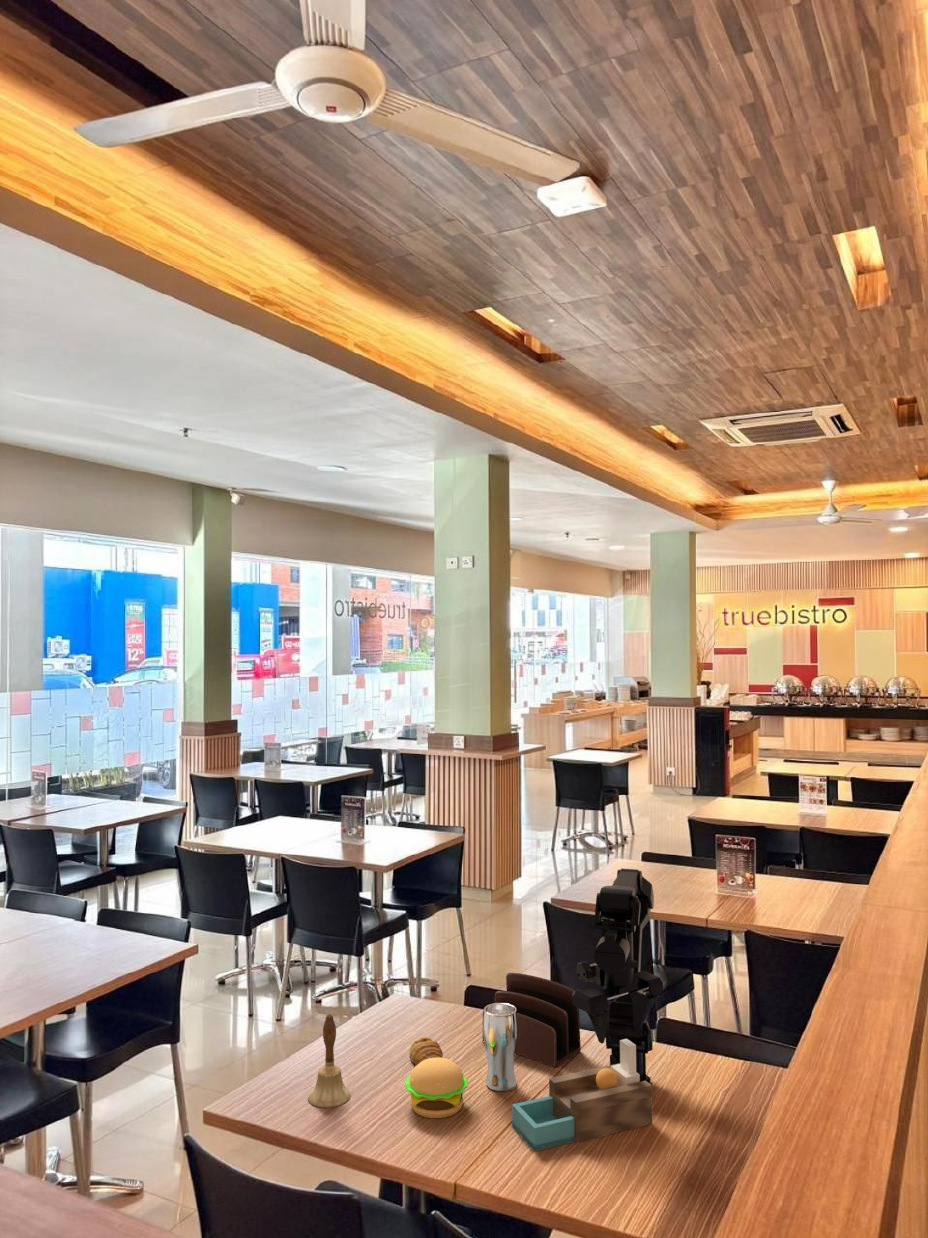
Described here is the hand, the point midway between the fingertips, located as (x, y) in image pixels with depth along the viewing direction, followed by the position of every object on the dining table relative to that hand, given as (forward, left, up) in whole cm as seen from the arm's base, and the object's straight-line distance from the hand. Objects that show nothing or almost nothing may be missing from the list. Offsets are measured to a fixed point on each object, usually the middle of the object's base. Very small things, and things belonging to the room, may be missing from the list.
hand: (619, 1036), depth 174 cm
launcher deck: (+6, +3, -13) cm, 15 cm away
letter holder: (+4, -30, -14) cm, 33 cm away
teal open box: (+18, +3, -13) cm, 23 cm away
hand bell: (+50, -26, -14) cm, 58 cm away
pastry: (+27, -33, -14) cm, 45 cm away
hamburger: (+32, -14, -14) cm, 38 cm away
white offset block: (+1, +3, -8) cm, 9 cm away
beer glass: (+17, -17, -13) cm, 28 cm away
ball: (+5, +3, -6) cm, 8 cm away
